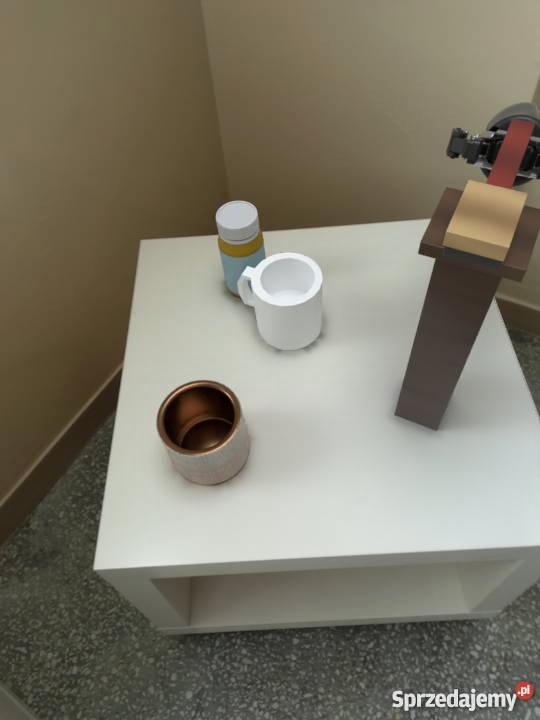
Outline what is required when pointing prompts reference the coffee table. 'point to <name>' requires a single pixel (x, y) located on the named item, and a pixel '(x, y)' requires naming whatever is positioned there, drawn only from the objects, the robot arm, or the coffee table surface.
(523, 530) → the coffee table surface
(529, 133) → the brush
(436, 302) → the stand
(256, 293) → the mug
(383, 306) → the coffee table surface
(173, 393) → the planter
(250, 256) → the bottle
